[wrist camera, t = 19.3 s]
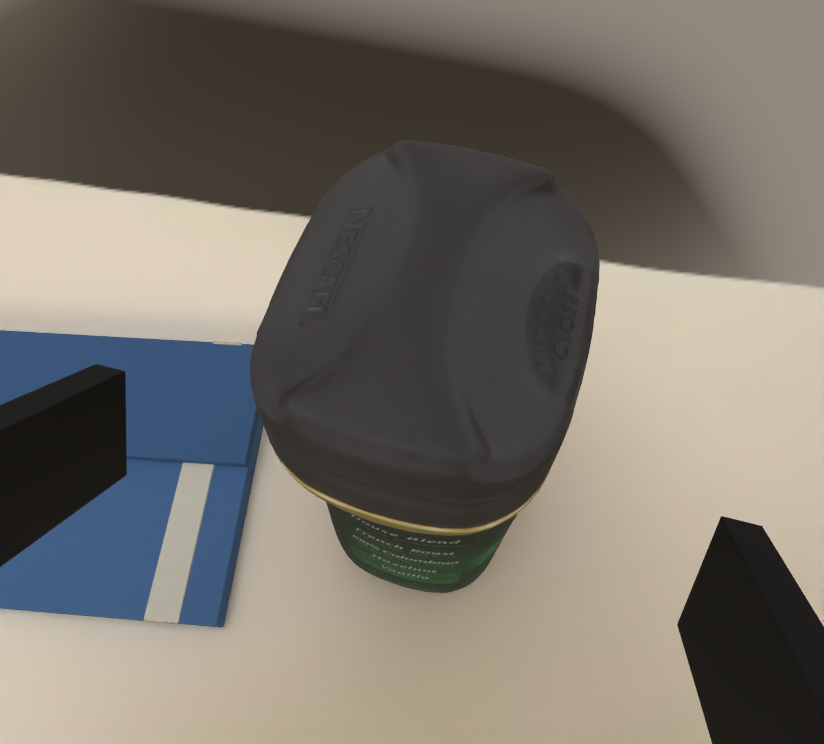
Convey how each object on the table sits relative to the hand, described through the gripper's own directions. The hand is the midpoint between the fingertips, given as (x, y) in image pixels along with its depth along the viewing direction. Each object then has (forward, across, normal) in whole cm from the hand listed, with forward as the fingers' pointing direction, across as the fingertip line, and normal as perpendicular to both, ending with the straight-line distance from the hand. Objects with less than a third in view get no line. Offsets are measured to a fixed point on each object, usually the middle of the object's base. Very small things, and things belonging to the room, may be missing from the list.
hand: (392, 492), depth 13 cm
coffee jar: (+15, 0, -9) cm, 17 cm away
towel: (+12, -22, -11) cm, 27 cm away
